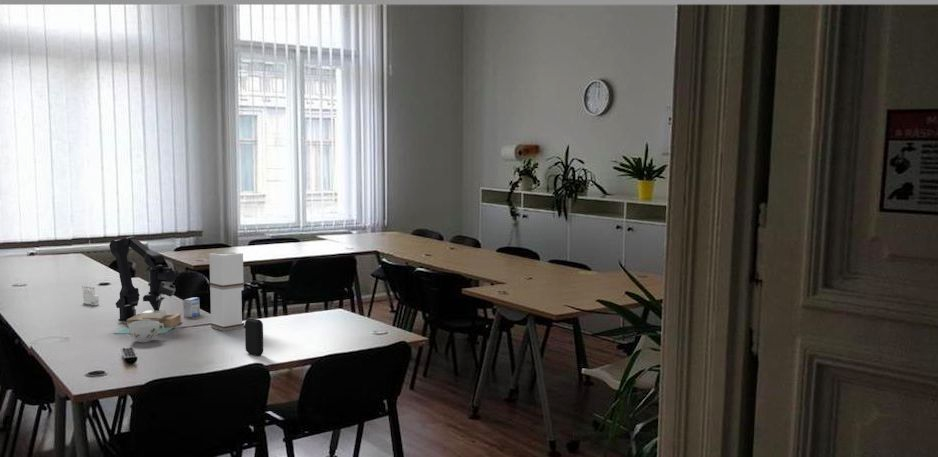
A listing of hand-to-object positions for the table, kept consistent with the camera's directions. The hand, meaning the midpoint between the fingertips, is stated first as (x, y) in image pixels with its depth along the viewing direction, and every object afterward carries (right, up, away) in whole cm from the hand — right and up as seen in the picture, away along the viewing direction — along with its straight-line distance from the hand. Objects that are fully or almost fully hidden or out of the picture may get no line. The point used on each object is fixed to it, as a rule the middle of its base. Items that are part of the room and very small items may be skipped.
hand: (157, 312), depth 378 cm
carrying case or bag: (+62, -11, -58) cm, 85 cm away
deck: (0, -5, -3) cm, 6 cm away
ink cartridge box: (-55, -1, +49) cm, 74 cm away
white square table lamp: (+36, -6, -7) cm, 37 cm away
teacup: (+10, -9, -35) cm, 37 cm away
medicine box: (+10, -4, +20) cm, 23 cm away
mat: (0, -7, -16) cm, 17 cm away
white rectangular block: (0, -1, -4) cm, 4 cm away
